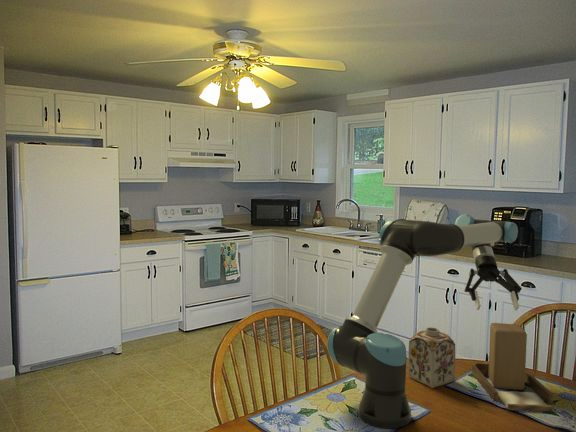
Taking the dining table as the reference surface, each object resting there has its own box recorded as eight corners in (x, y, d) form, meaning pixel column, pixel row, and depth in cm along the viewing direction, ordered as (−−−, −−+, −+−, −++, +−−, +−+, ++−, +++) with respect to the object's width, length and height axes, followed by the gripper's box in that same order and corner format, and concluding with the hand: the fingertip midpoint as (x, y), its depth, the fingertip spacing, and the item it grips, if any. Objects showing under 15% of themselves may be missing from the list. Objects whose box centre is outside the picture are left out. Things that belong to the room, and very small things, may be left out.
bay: (500, 409, 147) (500, 397, 147) (471, 372, 175) (471, 362, 175) (561, 411, 146) (561, 399, 146) (522, 374, 174) (522, 363, 174)
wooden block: (518, 379, 170) (520, 323, 168) (525, 391, 160) (527, 332, 158) (487, 376, 172) (489, 321, 170) (493, 388, 162) (495, 330, 161)
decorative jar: (429, 370, 177) (431, 322, 176) (455, 381, 168) (457, 331, 166) (406, 376, 171) (407, 327, 170) (431, 389, 161) (433, 336, 160)
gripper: (514, 265, 191) (529, 313, 177) (450, 265, 192) (460, 312, 179) (520, 254, 185) (536, 303, 171) (454, 254, 187) (465, 302, 173)
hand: (497, 308), depth 175 cm, fingers open, 13 cm apart
